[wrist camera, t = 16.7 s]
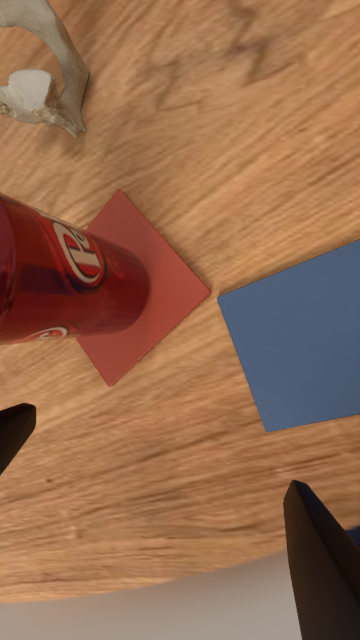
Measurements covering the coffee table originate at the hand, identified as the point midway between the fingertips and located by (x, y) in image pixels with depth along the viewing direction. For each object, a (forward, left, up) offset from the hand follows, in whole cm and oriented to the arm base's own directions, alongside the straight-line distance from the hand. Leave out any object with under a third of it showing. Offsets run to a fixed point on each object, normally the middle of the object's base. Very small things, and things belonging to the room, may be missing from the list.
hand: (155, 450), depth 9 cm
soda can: (+9, +6, -11) cm, 16 cm away
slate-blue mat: (+1, -7, -11) cm, 13 cm away
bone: (+27, +5, -11) cm, 29 cm away
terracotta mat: (+10, +6, -11) cm, 16 cm away
